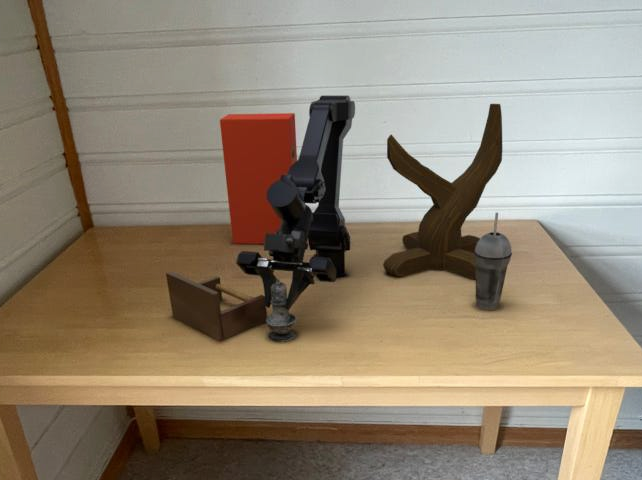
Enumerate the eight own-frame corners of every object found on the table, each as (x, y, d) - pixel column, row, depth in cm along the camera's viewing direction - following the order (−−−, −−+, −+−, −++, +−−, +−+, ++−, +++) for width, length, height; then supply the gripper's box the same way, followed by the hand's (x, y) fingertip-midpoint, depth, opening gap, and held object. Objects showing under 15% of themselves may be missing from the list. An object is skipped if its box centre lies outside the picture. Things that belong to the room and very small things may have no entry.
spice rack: (219, 299, 141) (214, 256, 136) (267, 320, 130) (263, 275, 125) (172, 317, 134) (165, 272, 129) (219, 341, 123) (213, 294, 118)
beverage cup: (506, 300, 134) (518, 206, 124) (504, 315, 128) (516, 217, 118) (471, 296, 136) (479, 204, 126) (467, 311, 130) (475, 215, 120)
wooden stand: (458, 236, 170) (469, 95, 152) (523, 273, 146) (545, 111, 128) (357, 252, 163) (357, 106, 145) (409, 294, 139) (416, 126, 121)
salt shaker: (261, 334, 125) (256, 277, 119) (287, 325, 128) (283, 269, 122) (277, 345, 121) (272, 287, 115) (303, 336, 124) (299, 279, 117)
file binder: (295, 245, 169) (288, 118, 153) (232, 244, 172) (219, 119, 156) (300, 235, 176) (294, 112, 160) (240, 234, 179) (228, 114, 163)
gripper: (234, 210, 119) (216, 287, 115) (330, 215, 113) (313, 297, 110) (254, 236, 129) (237, 308, 126) (343, 243, 124) (328, 318, 120)
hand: (277, 308), depth 120 cm, fingers closed on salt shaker, 4 cm apart
